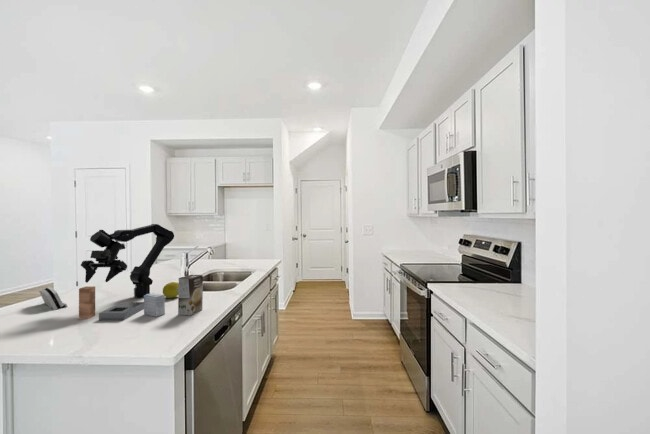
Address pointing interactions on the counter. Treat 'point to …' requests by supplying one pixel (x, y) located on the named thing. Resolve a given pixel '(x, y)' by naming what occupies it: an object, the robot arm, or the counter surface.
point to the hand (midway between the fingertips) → (96, 281)
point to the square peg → (87, 302)
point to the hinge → (51, 298)
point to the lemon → (171, 290)
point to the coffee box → (190, 294)
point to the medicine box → (154, 304)
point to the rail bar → (121, 311)
